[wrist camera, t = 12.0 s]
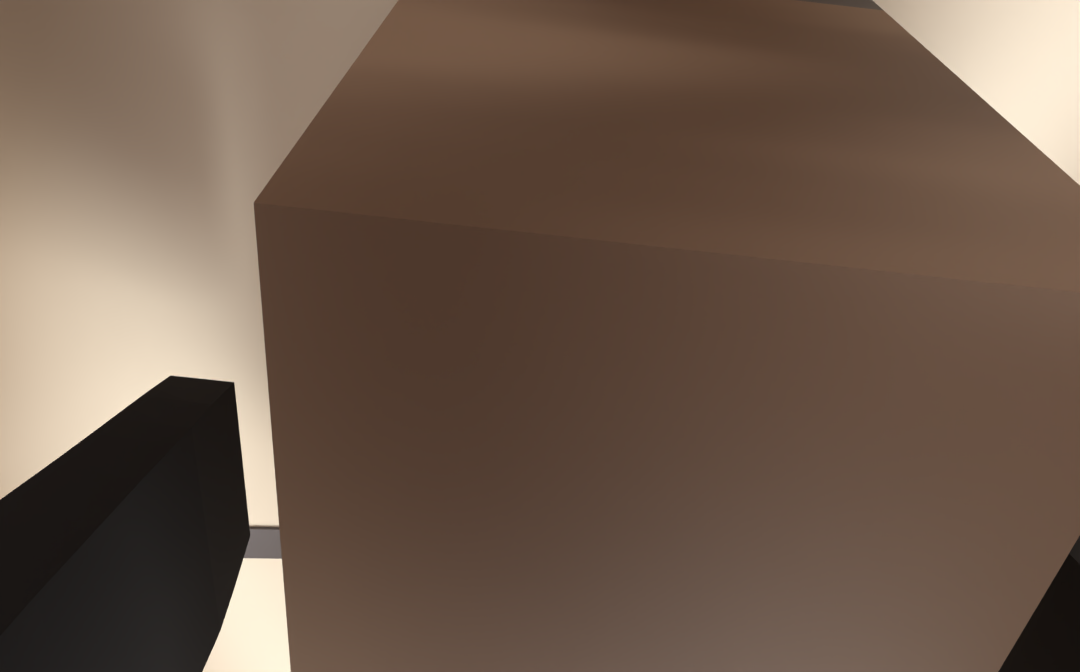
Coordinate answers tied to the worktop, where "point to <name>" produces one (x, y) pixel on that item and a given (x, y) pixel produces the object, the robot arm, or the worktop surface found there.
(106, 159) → the board
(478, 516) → the block
